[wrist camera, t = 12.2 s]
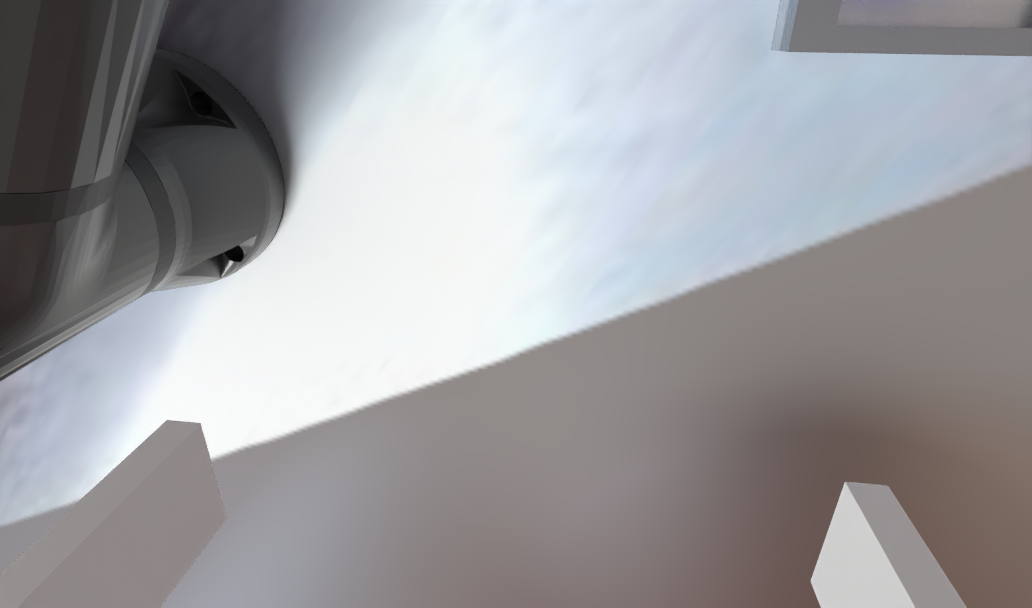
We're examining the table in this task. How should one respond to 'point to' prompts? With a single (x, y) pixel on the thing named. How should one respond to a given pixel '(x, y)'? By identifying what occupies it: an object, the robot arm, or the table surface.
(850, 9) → the grey tray
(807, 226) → the table surface
